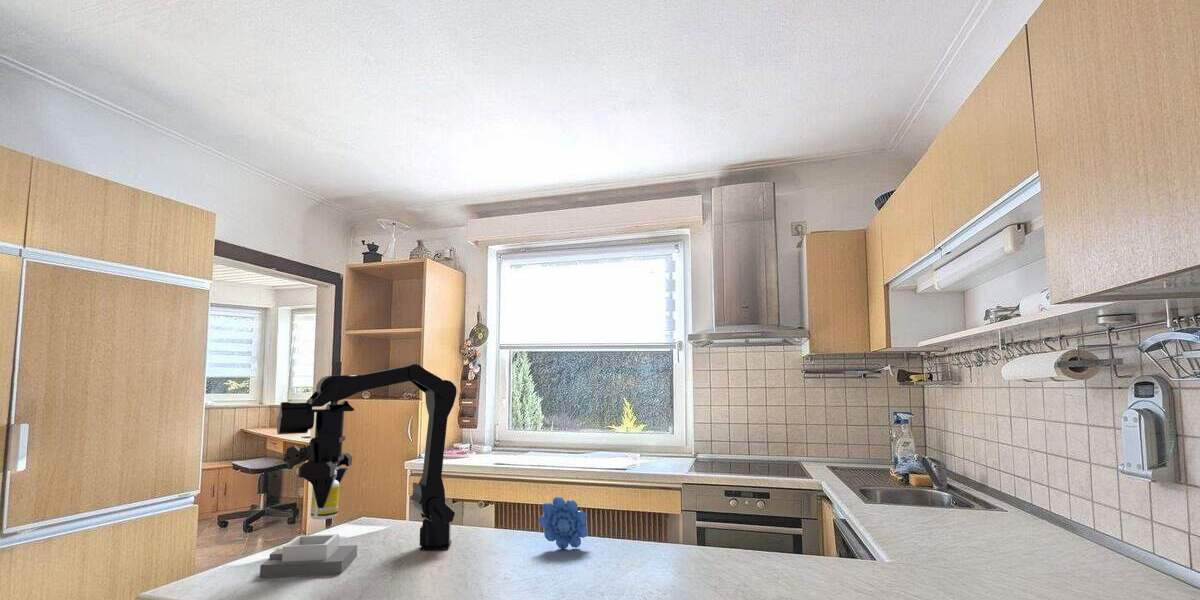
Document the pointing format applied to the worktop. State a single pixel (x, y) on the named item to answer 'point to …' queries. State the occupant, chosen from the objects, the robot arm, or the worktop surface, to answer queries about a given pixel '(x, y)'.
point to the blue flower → (563, 523)
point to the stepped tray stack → (309, 557)
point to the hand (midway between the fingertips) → (324, 505)
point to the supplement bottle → (330, 505)
